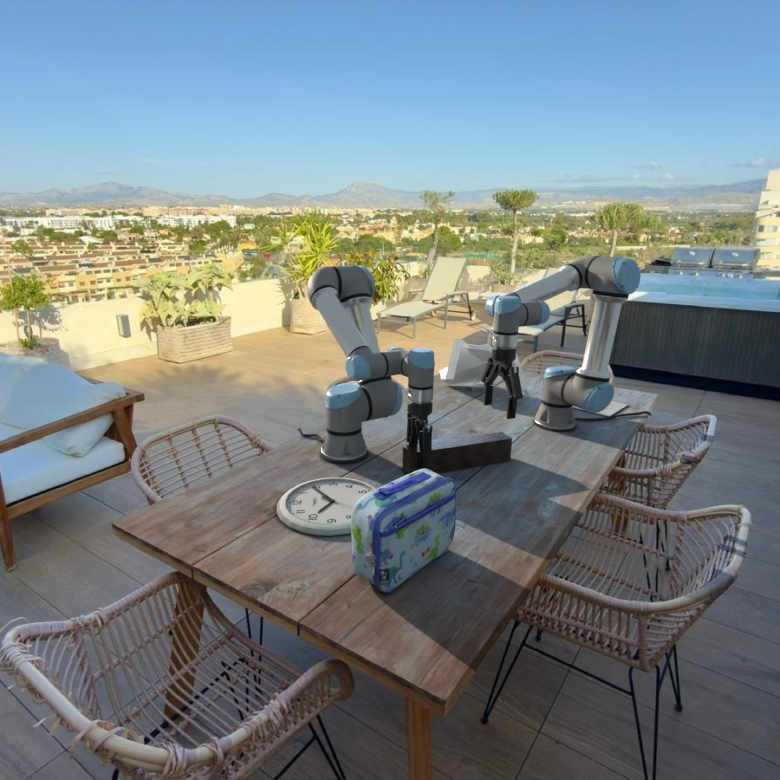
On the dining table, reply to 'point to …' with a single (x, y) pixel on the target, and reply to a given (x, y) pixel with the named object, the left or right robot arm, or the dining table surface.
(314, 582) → the dining table surface
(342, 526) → the wall clock
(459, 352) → the white plastic object
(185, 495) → the dining table surface
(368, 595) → the dining table surface
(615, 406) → the invitation card
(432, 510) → the lunch box
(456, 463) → the walnut beam
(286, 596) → the dining table surface
